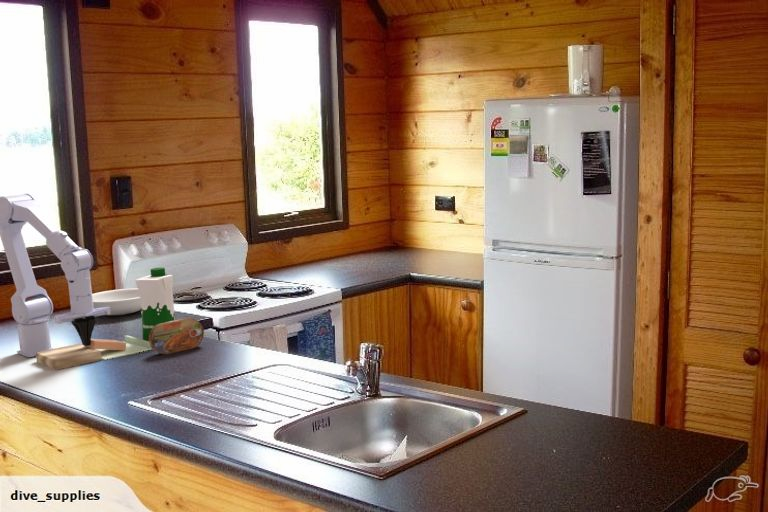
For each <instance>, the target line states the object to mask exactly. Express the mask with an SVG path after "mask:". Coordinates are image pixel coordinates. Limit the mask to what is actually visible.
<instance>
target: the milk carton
mask: <svg viewBox="0 0 768 512" xmlns="http://www.w3.org/2000/svg"><path fill="white" fill-rule="evenodd" d="M173 280H174V275H173V274H166V268H165V267H154V268H150V275H146V276H141V277H140V278H136V279H135V280H134V281H135V284H136V287H137V288H138V291H139V295H140V305H141V310H140V311H141V312H140V313H141V322H142V323H141V324H142V327H141V328H142V340H145V341H148V342H149V334H150V332H151V330H152V329H153V327H154V326H156V325H157V324H160V323H165V322H170V321H175V320H176V317H175V307H174V306H175V304H174V294H173Z"/></svg>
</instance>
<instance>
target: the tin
mask: <svg viewBox="0 0 768 512" xmlns="http://www.w3.org/2000/svg"><path fill="white" fill-rule="evenodd" d="M204 331H205V330H204V327H203V325H202V323H201V322H200V321H199V319H196V318H193V317H185V318H180V319H175V321H170V322H165V323H160V324H157V325H156V326H154V327H153V329H152V330H151V332H150V334H149V341H148V342H149V343H150V346H151V347H152V349H153V350H152V351H154V352H157V353H158V354H161V355H169V354H175V353H179V352H183V351H187V350H193V349H195V348H196V347H198V346H199V345H200V344H201V343H202V341H203V339H204V336H205V335H204V333H205V332H204Z"/></svg>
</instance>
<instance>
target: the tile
mask: <svg viewBox="0 0 768 512" xmlns="http://www.w3.org/2000/svg"><path fill="white" fill-rule="evenodd" d="M87 347H90V348H93V349H107V350H125V349H126V343H124V342H123V341H120V340H117V339H101V338H91V342H90V345H89V346H87Z"/></svg>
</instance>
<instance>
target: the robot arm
mask: <svg viewBox="0 0 768 512" xmlns="http://www.w3.org/2000/svg"><path fill="white" fill-rule="evenodd" d="M27 223H28V224H30V226H31V227H33V228H34V229H35V230H36V231H37V232H38V233H40V235H41V236H42V237H43V238H44V239H46V240H45V245H46V247H47V248H48V249H49V250H50V252H52V253H53V254H54V255H55V257H57V259H59V260H60V261H61V262H60V267H61V269H62V271H63V272H64V276H65V278H66V281H67V284H68V293H69V294H68V295H69V303H70V312H66V313H63V314H58V315H54V321H55V324H56V325H59V324H60V325H61V324H64V323H68V322H71V325H72V326H73V327H74V328H75V330H76V332H77V334H78V336H79V338H80V341H81V344H82V345H84V346H89V345H90V342H91V339H92V336H93V335H92V334H93V331H94V328H95V326H96V324H97V318H96V317H100V316H110V315H109V314H111V313H110V307H101V308H94V307H93V298H92V294H93V291H92V281H91V271H90V270H91V269H92V267H93V265H94V257H93V255H92V253H91V252H90V250H88V249H86V248H82V247H81V246H78V245H77V244H76V243H75V242H74V241H73V240H72V239H71V238H70V237H69V236H68V233H67V232H66V231H63V230H57V229H56V228H55V226H53V224H52V223H51V221H50V220H49V219H48V217H46V215H44V213H43V212H42V211H41V209H40V203H39V201H38V200H37V199H35V197H34V196H33V195H32V194H30V193H23V194H18V195H16V194H15V195H10V196H9V195H8V196H0V239H1V243H2V246H3V248H4V252H5V255H6V259H7V263H8V266H9V270H10V273H11V275H12V279H13V283H14V286H15V290H16V291H15V293H14V294H13V295H12V296H11V297H10V302H11V314H12V317H13V319H14V320H15V321H16V322H17V324H18V329H17V334H18V343H19V350H17V351H16V353H17V354H18V355H21V356H24V357H27V358H32V357H33V358H34V357H36V352H41V351H46V350H51V349H54V348H52V343H51V336H50V326H49V320H50V319H51V315H52V314H53V311H54V304H53V301H52V299H51V298H50V297H49V295H48V292H47V290H46V289H45V288H44V287H42V286H40V285H38V283H37V280H36V277H35V274H34V271H33V268H32V263H31V260H30V257H29V254H28V251H27V250H28V249H27V248H26V244H25V240H24V237H23V233H22V229H23V227H24V225H26V224H27Z"/></svg>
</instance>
